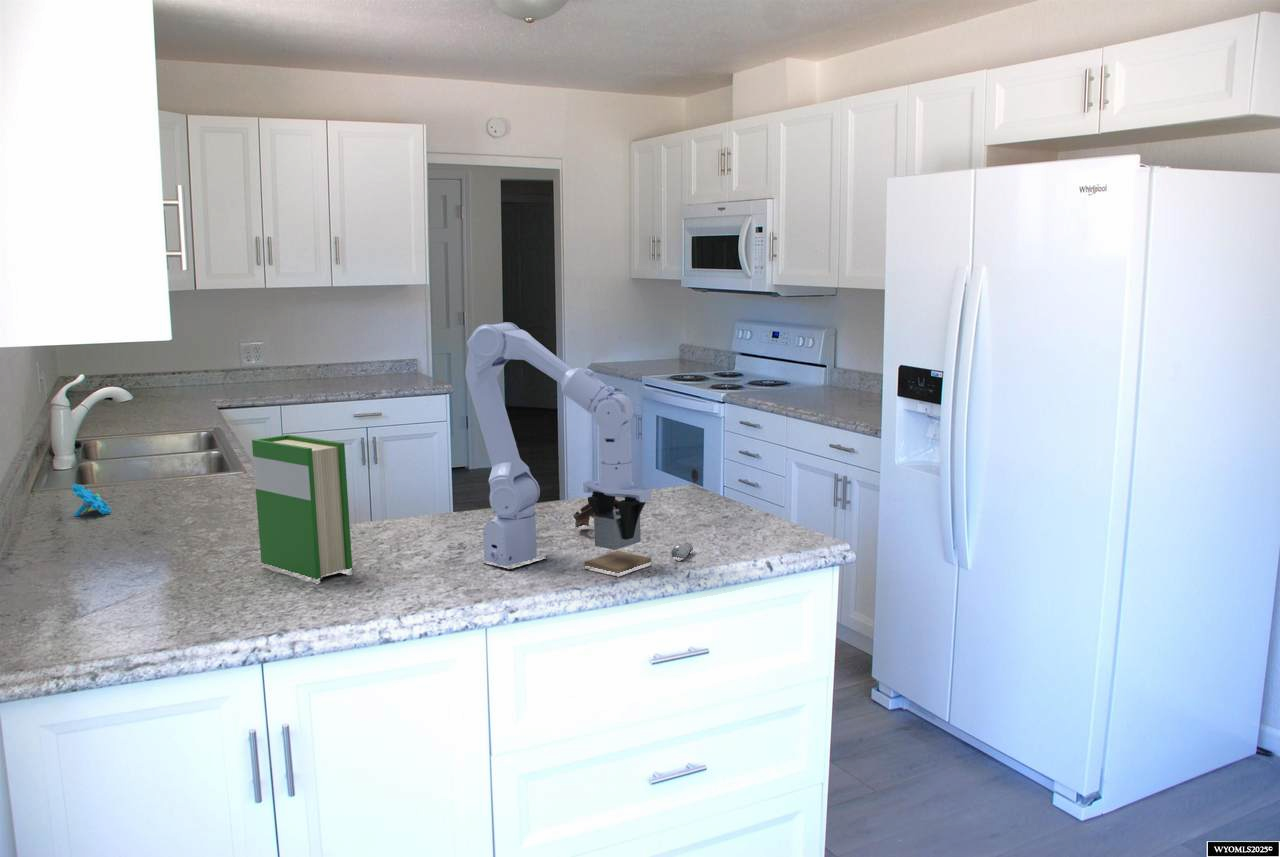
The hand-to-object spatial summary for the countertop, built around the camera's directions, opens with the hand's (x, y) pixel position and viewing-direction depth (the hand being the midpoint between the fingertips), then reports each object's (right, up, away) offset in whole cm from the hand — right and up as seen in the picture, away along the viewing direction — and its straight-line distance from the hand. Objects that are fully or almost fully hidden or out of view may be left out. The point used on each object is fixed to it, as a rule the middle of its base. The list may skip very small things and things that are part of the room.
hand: (617, 536), depth 181 cm
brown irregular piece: (-4, -2, +27) cm, 28 cm away
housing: (0, -1, 0) cm, 1 cm away
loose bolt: (+12, -5, +7) cm, 15 cm away
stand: (0, -6, +1) cm, 6 cm away
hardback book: (-57, -7, +3) cm, 57 cm away
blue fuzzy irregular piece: (-123, -1, +52) cm, 133 cm away
